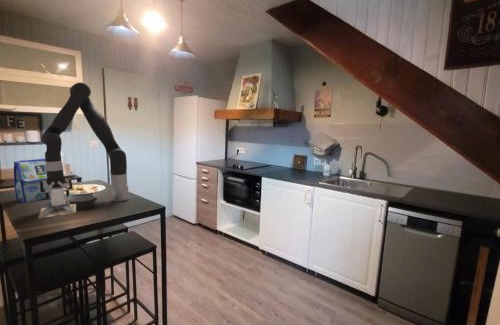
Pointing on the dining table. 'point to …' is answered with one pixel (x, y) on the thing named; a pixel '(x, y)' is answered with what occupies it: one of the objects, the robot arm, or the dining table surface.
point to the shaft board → (57, 211)
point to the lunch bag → (30, 180)
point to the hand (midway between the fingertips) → (58, 197)
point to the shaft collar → (57, 208)
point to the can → (57, 196)
